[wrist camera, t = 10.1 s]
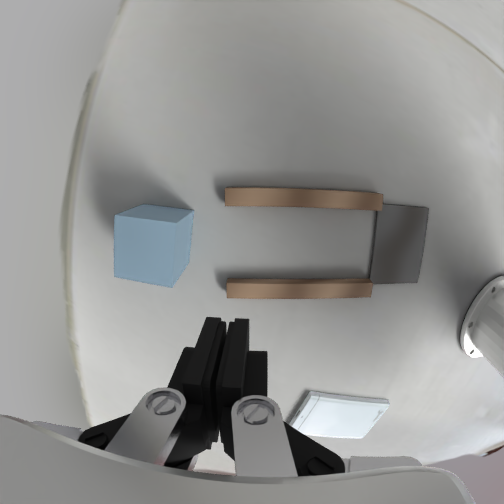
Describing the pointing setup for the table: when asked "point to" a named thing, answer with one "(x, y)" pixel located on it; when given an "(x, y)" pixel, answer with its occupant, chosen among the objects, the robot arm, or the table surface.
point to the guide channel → (384, 248)
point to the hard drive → (337, 415)
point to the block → (152, 244)
